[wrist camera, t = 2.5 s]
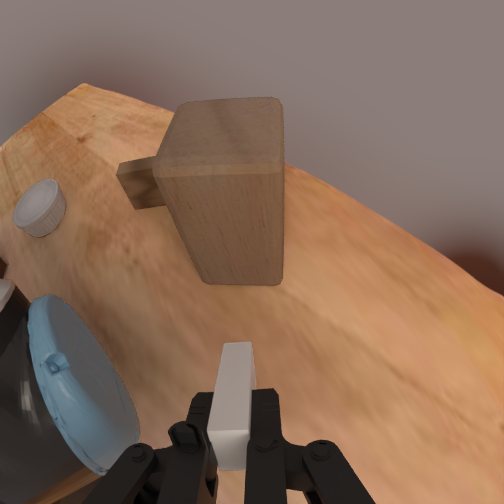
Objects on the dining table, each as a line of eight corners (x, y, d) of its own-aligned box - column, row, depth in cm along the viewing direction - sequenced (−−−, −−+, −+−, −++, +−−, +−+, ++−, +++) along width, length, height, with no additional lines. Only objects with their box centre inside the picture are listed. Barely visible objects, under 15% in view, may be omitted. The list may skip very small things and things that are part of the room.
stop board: (135, 209, 45) (115, 174, 38) (137, 198, 46) (119, 163, 40) (274, 192, 44) (272, 151, 38) (272, 180, 46) (270, 140, 39)
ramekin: (78, 212, 47) (64, 193, 42) (35, 253, 43) (18, 237, 38) (61, 187, 51) (49, 170, 47) (23, 223, 47) (8, 207, 43)
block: (202, 286, 37) (144, 169, 20) (212, 222, 43) (176, 99, 25) (282, 288, 36) (284, 163, 19) (283, 222, 42) (282, 92, 24)
